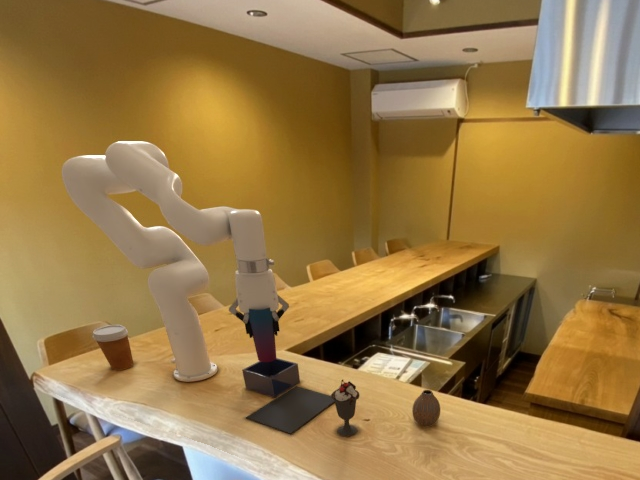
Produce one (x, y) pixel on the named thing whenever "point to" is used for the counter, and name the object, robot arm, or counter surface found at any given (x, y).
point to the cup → (263, 334)
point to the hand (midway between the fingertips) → (263, 334)
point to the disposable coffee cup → (114, 345)
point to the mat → (292, 409)
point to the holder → (281, 380)
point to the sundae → (346, 406)
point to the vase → (426, 409)
